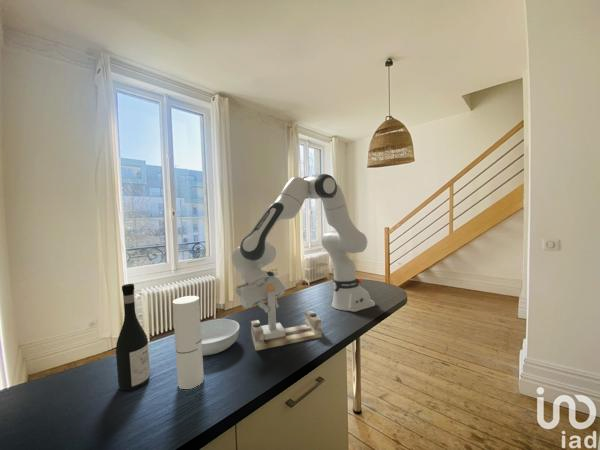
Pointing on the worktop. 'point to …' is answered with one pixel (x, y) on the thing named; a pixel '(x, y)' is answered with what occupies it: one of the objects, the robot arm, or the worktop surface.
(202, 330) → the serving bowl
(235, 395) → the worktop surface
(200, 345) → the cylindrical container
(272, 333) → the carriage
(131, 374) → the wine bottle
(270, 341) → the rail
